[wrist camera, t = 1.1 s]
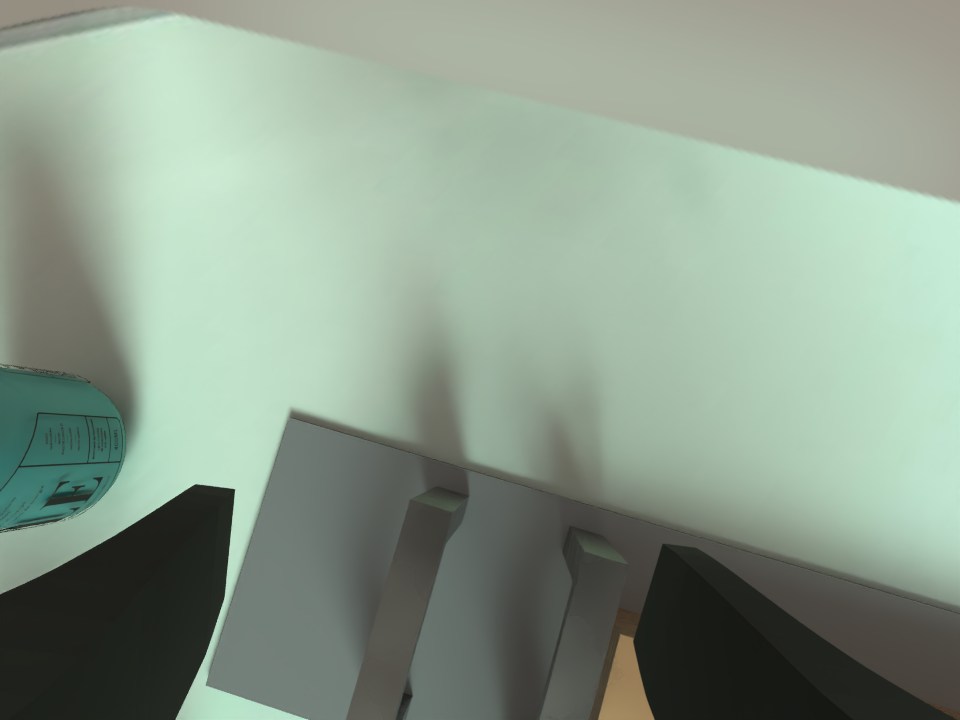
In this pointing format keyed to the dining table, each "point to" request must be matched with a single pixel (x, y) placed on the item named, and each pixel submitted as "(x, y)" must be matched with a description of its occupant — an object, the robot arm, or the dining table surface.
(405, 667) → the collar
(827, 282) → the dining table surface
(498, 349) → the dining table surface
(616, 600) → the collar
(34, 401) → the beverage bottle
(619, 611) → the striped wooden beam
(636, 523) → the mat
